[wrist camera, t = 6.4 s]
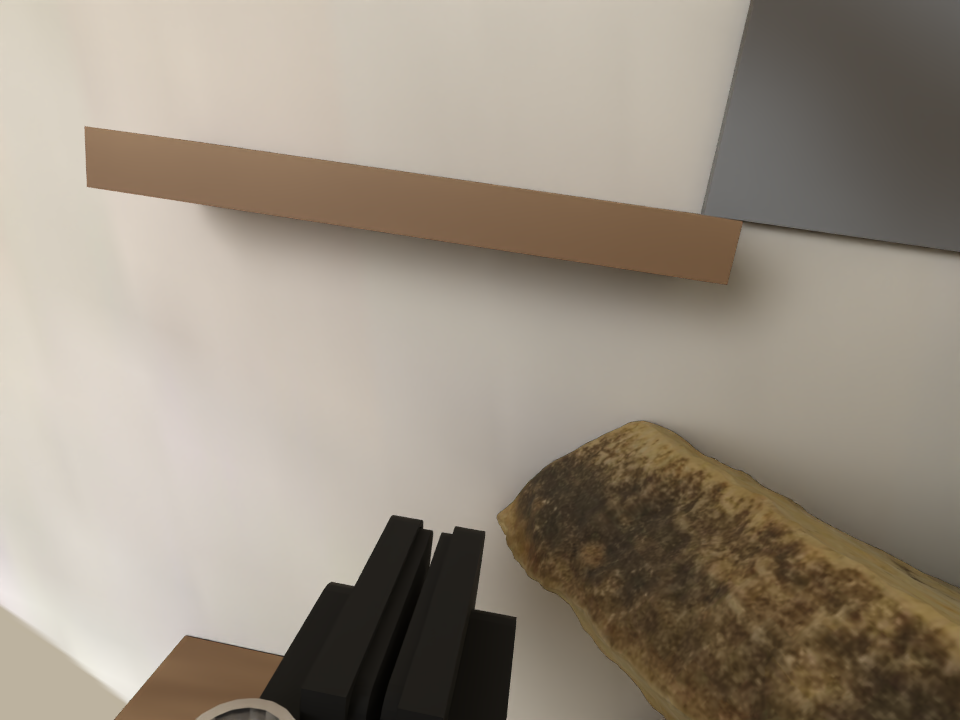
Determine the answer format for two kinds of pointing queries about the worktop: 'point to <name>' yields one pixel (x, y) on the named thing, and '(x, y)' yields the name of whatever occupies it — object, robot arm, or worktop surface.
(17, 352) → the worktop surface
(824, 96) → the box
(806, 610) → the rock
